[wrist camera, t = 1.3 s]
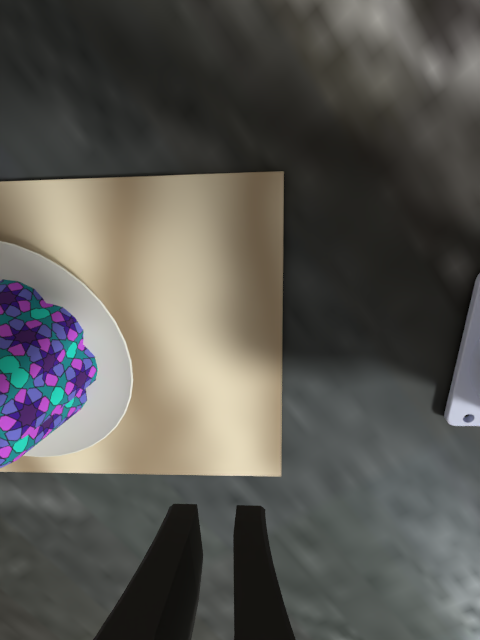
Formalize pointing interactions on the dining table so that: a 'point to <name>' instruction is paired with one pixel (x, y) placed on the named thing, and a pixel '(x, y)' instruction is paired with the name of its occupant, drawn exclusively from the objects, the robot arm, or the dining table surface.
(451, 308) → the dining table surface
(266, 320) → the board
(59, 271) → the pudding
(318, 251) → the dining table surface
